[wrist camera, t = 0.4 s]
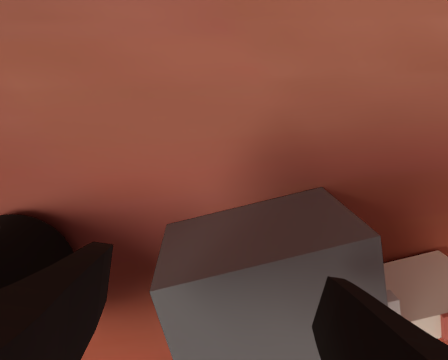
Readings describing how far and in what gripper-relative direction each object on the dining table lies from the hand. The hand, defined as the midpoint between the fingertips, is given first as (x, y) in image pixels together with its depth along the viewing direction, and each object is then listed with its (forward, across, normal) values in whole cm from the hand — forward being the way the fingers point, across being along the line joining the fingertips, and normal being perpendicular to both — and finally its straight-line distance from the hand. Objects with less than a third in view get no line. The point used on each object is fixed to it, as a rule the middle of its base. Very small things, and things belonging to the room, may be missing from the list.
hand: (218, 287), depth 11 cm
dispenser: (+10, -5, +7) cm, 13 cm away
